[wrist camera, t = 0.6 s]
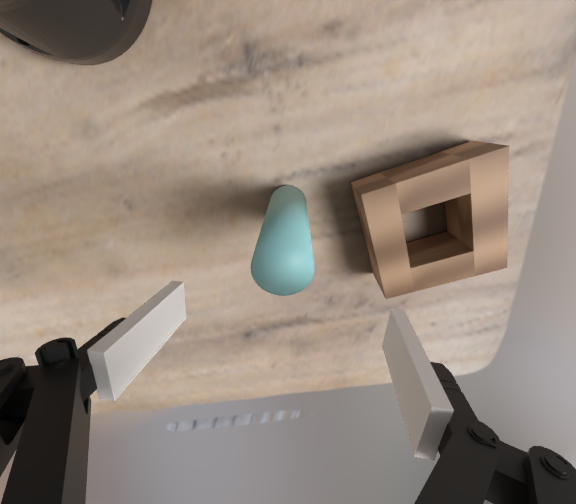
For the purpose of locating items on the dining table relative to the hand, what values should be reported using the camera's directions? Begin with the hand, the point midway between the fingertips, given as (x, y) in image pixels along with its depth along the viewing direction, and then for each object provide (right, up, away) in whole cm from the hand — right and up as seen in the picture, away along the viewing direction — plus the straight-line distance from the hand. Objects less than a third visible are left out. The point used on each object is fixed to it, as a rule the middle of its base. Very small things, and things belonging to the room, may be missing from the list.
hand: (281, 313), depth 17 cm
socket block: (+15, +8, +13) cm, 21 cm away
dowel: (0, +9, +12) cm, 15 cm away
